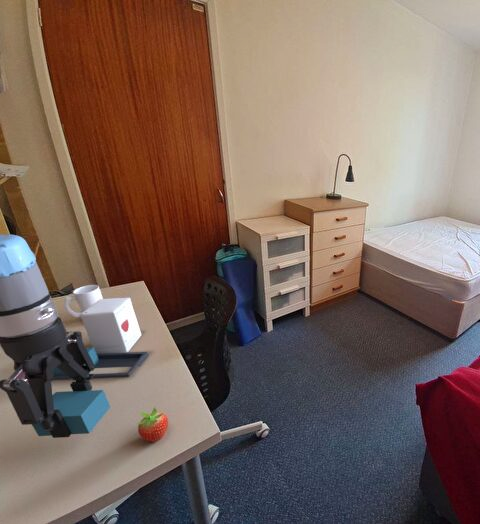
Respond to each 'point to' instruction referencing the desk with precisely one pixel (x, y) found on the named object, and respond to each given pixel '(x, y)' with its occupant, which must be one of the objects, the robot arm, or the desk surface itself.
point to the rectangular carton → (111, 325)
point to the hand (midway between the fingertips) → (76, 419)
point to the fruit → (153, 426)
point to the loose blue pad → (78, 410)
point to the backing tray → (115, 364)
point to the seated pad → (94, 358)
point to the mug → (84, 298)
